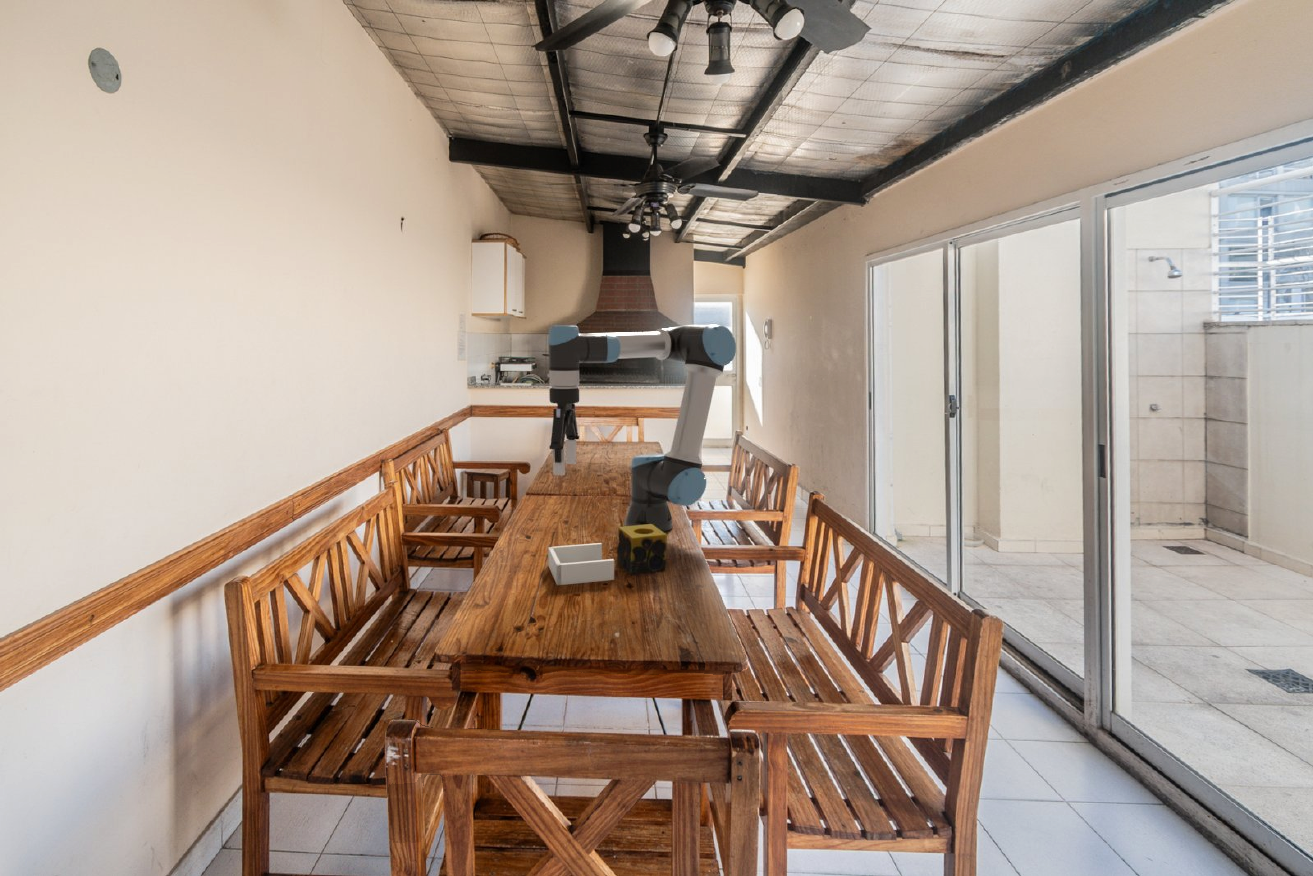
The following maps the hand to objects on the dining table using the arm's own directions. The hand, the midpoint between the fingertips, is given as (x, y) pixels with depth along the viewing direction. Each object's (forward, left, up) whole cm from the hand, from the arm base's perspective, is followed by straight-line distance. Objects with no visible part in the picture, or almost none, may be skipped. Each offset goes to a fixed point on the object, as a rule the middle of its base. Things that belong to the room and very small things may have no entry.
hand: (565, 469), depth 165 cm
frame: (-1, +9, -25) cm, 27 cm away
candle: (-16, +12, -25) cm, 32 cm away
